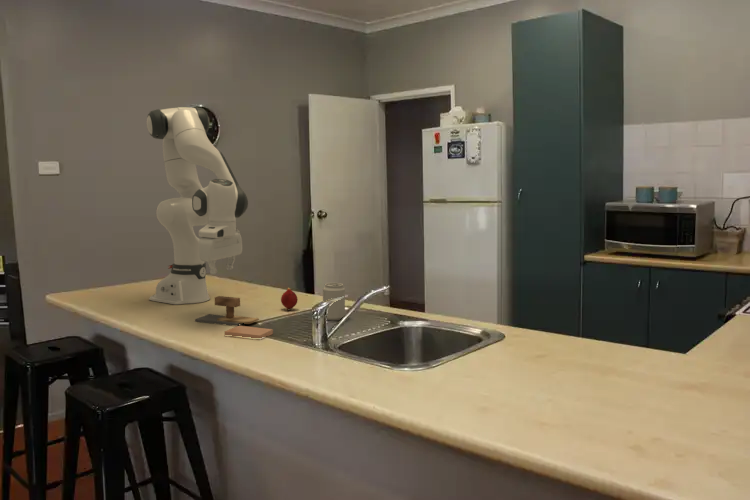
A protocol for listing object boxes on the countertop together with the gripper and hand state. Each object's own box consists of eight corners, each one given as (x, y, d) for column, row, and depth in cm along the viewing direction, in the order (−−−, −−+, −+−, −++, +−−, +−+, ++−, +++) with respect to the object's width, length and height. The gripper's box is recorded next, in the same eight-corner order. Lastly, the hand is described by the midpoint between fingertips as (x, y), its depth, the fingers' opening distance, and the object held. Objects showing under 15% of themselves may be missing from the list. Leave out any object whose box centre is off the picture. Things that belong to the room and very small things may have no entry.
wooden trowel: (211, 320, 211) (211, 298, 210) (222, 316, 217) (221, 295, 216) (249, 324, 206) (249, 301, 205) (258, 320, 212) (258, 298, 211)
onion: (299, 308, 234) (299, 286, 233) (295, 311, 228) (295, 289, 227) (283, 307, 235) (283, 286, 234) (279, 311, 229) (279, 289, 228)
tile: (224, 331, 194) (259, 335, 190) (238, 325, 202) (272, 329, 198) (224, 337, 194) (259, 341, 191) (238, 331, 202) (272, 335, 198)
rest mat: (195, 321, 212) (195, 319, 212) (209, 316, 220) (209, 314, 219) (237, 326, 207) (237, 323, 207) (250, 320, 214) (250, 318, 214)
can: (349, 318, 219) (349, 283, 218) (333, 322, 214) (333, 286, 212) (334, 315, 224) (334, 280, 223) (318, 318, 219) (318, 283, 218)
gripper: (231, 226, 220) (230, 266, 222) (195, 231, 201) (195, 275, 203) (247, 227, 218) (246, 267, 220) (212, 233, 199) (212, 277, 201)
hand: (221, 271), depth 211 cm, fingers open, 8 cm apart
